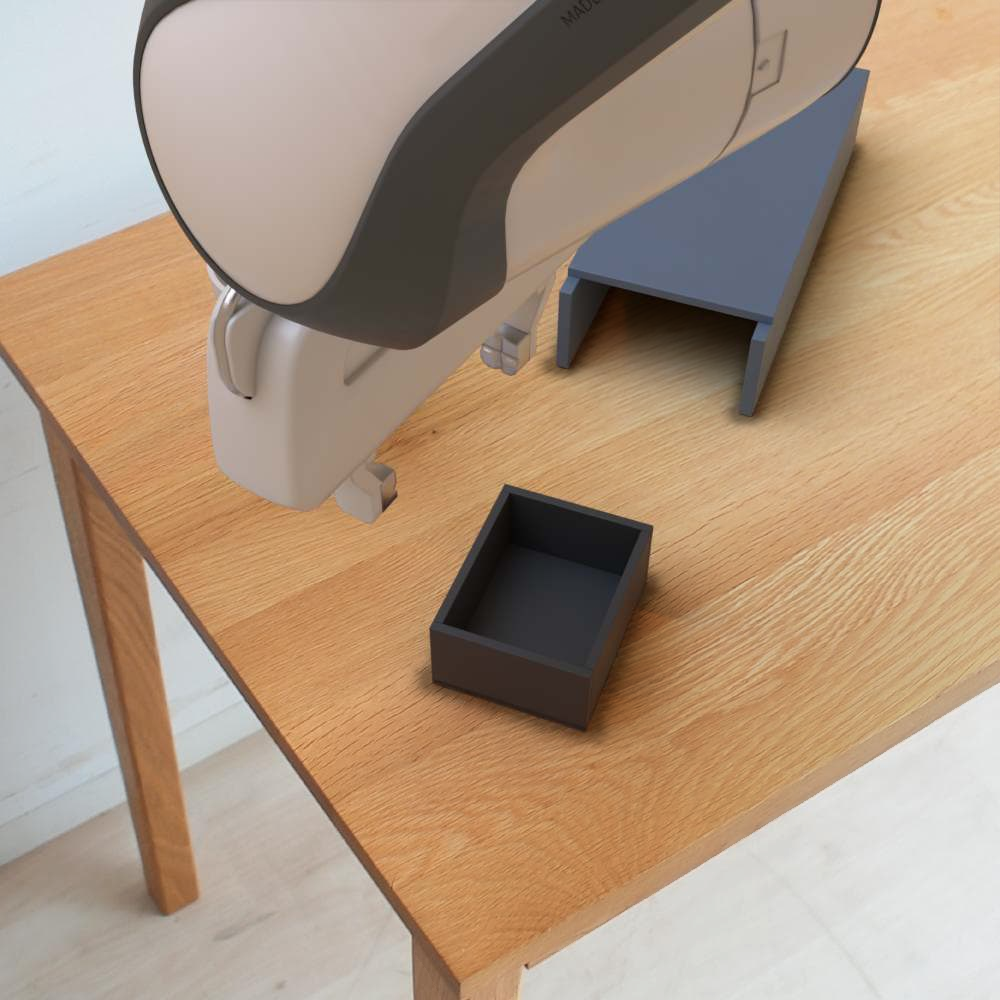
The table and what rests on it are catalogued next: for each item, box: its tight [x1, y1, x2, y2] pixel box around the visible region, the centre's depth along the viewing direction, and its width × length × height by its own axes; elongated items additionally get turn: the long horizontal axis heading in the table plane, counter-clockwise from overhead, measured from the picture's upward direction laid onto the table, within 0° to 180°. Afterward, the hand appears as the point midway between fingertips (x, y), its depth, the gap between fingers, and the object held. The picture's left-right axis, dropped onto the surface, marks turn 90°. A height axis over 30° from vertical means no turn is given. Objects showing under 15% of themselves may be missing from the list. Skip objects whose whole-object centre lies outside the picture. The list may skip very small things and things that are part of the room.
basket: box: [428, 483, 654, 733], centre depth 72 cm, size 10×8×4 cm
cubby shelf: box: [555, 66, 871, 417], centre depth 92 cm, size 29×12×6 cm, turn 159°
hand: (441, 430), depth 56 cm, fingers open, 8 cm apart
